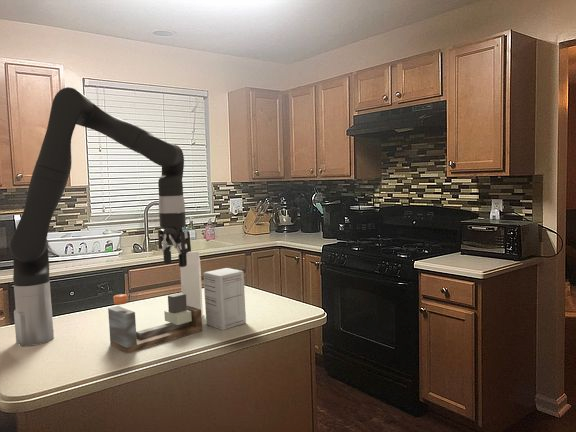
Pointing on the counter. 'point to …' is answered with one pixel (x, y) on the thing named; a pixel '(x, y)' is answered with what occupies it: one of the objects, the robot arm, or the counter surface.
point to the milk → (192, 281)
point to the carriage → (177, 309)
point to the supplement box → (224, 298)
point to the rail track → (167, 334)
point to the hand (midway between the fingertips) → (175, 265)
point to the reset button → (120, 299)
